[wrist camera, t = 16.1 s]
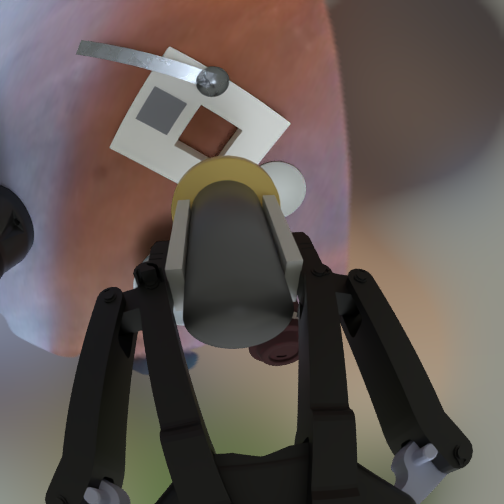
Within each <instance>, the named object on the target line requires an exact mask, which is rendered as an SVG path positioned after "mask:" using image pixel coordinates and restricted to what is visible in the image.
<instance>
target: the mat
mask: <svg viewBox="0 0 504 504" xmlns="http://www.w3.org/2000/svg"><path fill="white" fill-rule="evenodd" d="M260 167H262V168H263V169H264V170H265V171H266V172H267V173H268V175H269V176H270V177H271V179H272V181H273V183H274V185H275V187H276V189H277V191H278V194H279V198H280V206H281V210H282V213H283V215H284V217H286V216H288V215H290V214H291V213H293V212H294V211H295V210H296V209H297V208H298V207H299V206H300V205H301V203H302V202H303V199H304V197H305V193H306V184H305V180H304V178H303V176H302V174H301V173H300V172H299V171H298V169H296V168H295V167H294V166H292V165H290V164H288V163H285V162H278V161H275V162H269V163H265V164H263V165H261V166H260Z"/></svg>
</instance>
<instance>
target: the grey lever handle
mask: <svg viewBox="0 0 504 504" xmlns="http://www.w3.org/2000/svg"><path fill="white" fill-rule="evenodd" d="M76 54H77V55H84V56H90V57H96V58H101V59H106V60H111V61H116V62H120V63H125V64H129V65H133V66H137V67H141V68H145V69H149V70H152V71H156V72H159V73H163V74H166V75H169V76H173V77H176V78H179V79H182V80H185V81H188V82H191V83H194V84H196V86H197V89H198V90H199V92H200V93H201V94H203V95H205V96H208V97H216V96H219V95H221V94H223V93H224V92H225V91H226V90H227V88H228V86H229V76H228V74H227V73H226V72H225V71H224V70H223V69H222V68H219V67H214V66H213V67H207V68H205V69H203V70H202V69H199V68H197V67H194V66H191V65H188V64H184V63H181V62H178V61H175V60H171V59H168V58H165V57H161V56H157V55H154V54H150V53H146V52H142V51H138V50H133V49H129V48H124V47H119V46H114V45H109V44H104V43H98V42H91V41H84V40H81V43H80V45H79V48H78V50H77V53H76Z"/></svg>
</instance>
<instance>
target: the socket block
mask: <svg viewBox="0 0 504 504" xmlns="http://www.w3.org/2000/svg"><path fill="white" fill-rule="evenodd" d="M162 57H165V58H168V59H171V60H175V61H178V62H181V63H184V64H188V65H191V66H194V67H197V68H199V69H202V70H203V69H205V68H207V67H206V66H205V65H203V64H201V63H199V62H198V61H196V60H194V59H192V58H190V57H189V56H187V55H185V54H183V53H181V52H179V51H177V50H175V49H173V48H172V47H170V46H169V47H168V49H167V50H166V52H165V53H164V54H163V56H162ZM201 105H202V106H204V107H206V108H207V109H209V110H211V111H212V112H214V113H216V114H217V115H219V116H220V117H222V118H224V119H225V120H227V121H228V122H230V123H232V124H233V125H235V126H236V127H238V129H237V131H236V132H235V133H234V135H233V136H232V137H231V139H230V140H229V141H228V143H227V144H226V145H225V147H224V148H223V150H222V151H221V152H220V154H219V155H218V156H226V155H230V156H238V157H242V158H245V159H248V160H251V161H252V162H254V163H256V164H259V162H260V161H261V160H262V159H263V157H264V156H265V155H266V154H267V152H268V151H269V150H270V149H271V147H272V146H273V145H274V144H275V142H276V141H277V140H278V139H279V137H280V136H281V135H282V134H283V133H284V131H285V130H286V129H287V128H288V126H289V125H290V124H291V123H290V122H288V121H287V120H286V119H284V118H283V117H282V116H280V115H279V114H278V113H276V112H275V111H273V110H272V109H271V108H269V107H268V106H267V105H265V104H264V103H262V102H261V101H259V100H258V99H257V98H255V97H254V96H252V95H251V94H249V93H248V92H246V91H245V90H243V89H242V88H240V87H239V86H237V85H236V84H234V83H232V82H231V81H229V86H228V88H227V90H226V91H225V92H224V93H223V94H221V95H219V96H216V97H208V96H205V95H203V94H201V93H200V92H199V90H198V89H197V86H196V84H194V83H191V82H188V81H185V80H182V79H179V78H176V77H173V76H169V75H166V74H163V73H159V72H156V71H152V72H151V74H150V75H149V77H148V78H147V80H146V81H145V83H144V85H143V86H142V88H141V90H140V91H139V93H138V95H137V96H136V98H135V100H134V102H133V103H132V105H131V107H130V109H129V110H128V112H127V114H126V116H125V118H124V120H123V121H122V123H121V125H120V127H119V129H118V131H117V133H116V135H115V137H114V139H113V141H112V143H111V145H110V148H111V149H112V150H114V151H116V152H118V153H120V154H122V155H124V156H126V157H128V158H130V159H132V160H134V161H136V162H138V163H139V164H141V165H143V166H145V167H147V168H149V169H151V170H153V171H155V172H157V173H158V174H160V175H162V176H164V177H166V178H168V179H170V180H172V181H173V182H175V183H177V184H178V182H179V181H180V179H181V178H182V176H183V175H184V174H185V173H186V172H187V171H188V170H189V169H190V168H191V167H193V166H194V165H196V164H197V163H199V162H201V161H203V160H205V159H208V158H209V157H207V156H205V155H204V154H202V153H200V152H198V151H197V150H195V149H193V148H191V147H190V146H188V145H186V144H184V143H183V142H181V141H179V140H178V138H179V137H180V135H181V134H182V132H183V131H184V129H185V128H186V126H187V125H188V123H189V122H190V120H191V119H192V117H193V116H194V114H195V113H196V111H197V110H198V108H199V107H200V106H201Z"/></svg>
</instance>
